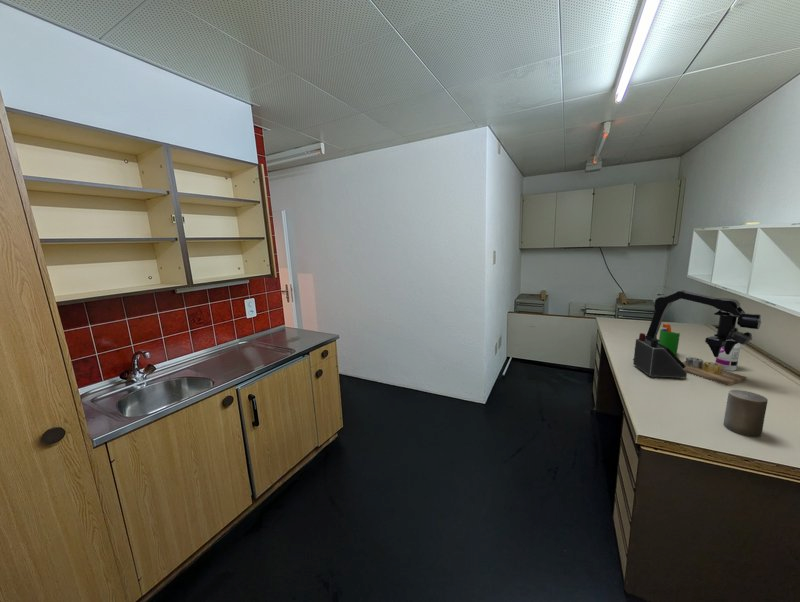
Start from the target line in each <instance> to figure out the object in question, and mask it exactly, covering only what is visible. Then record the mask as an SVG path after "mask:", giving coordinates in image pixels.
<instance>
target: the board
mask: <svg viewBox="0 0 800 602" xmlns="http://www.w3.org/2000/svg"><path fill="white" fill-rule="evenodd" d="M693 360H697V357H693ZM681 362H682V363H683V364H684V365H685V363H686V360H685V361H681ZM710 365H715V362H713V363H710ZM685 366H686V367H685V368H683V369H684V370H685V371H686V372H687V374H689V375H692V374H693V375H692V376H695V375H696V377H698V376H699V378H701V377H703V379H705V380H708V381H711V380H712V381H711V382H714V381H715V383H717V384H720V383H721V384H720V385H724V386H731V385H734V384H737V383H740V382H741V383H742V382H744V381H747V378H748V377H747V376H746V375H741V374H739V373H734V372H732V371H727V370H721V373H720V374H712V373H709V372H705V371H704V370H702V369H703V368H700V369H698V368H692V367H688V366H687V365H685Z"/></svg>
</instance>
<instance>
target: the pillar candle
mask: <svg viewBox="0 0 800 602" xmlns="http://www.w3.org/2000/svg"><path fill="white" fill-rule="evenodd" d="M726 400H727V401H726V405H725V406H726V407H725V411H724V416H723V417H724V419H723V427H724V428H726V429H727V430H730V431H731V432H734V433H736V434H739V435H742V436H746V437H751V438H759V437H762V434H763V430H764V429H763V428H764V423H765V416H766V412H767V408H768V407H767V406H768V398H767V397H765V396H764V395H761V394H758V393H756V392H752V391H748V390H742V389H729V390H728V395H727V399H726Z"/></svg>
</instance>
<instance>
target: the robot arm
mask: <svg viewBox="0 0 800 602" xmlns="http://www.w3.org/2000/svg"><path fill="white" fill-rule="evenodd" d="M679 300H686V301H690V302H693V303H698V304H704V305H707V306H711V307H713V308H715V309H717V310H718V311H716V312H714V313H713V315H715V316H719V317H718V318H719V319H718V324H717V325H715V329H717V331H716V333H715V334H714V335H713V336H708V337H706V338H705V340H704V342H705V343H706V344H707V345H708V347H709V349H710V350H711V352H712V355H713V356H714V357H715V358H716V357H718V355H719V353H720V350H721V348H722V347H724V350H725V353H726V354H727V355H729V354H730V352H731V350H732V349H733V347H734V346H735V345H736V344H738V343H739V344H740V345H747V344H749V342H750V341H752V340H753V336H752V333H751V332H749V331H747V332H739V328H738V327H736V324H737V325H738V326H739V327H740V328H746V329H750V330H751V329H752V330H759V329H760V328H761V325H762V321H761V316H762V315H761V314H758V313H754V314H753V313H746V311H744V309H743V308H742V307H741V303H740V301H739V300H738V299H735V298H729V297H727V298H726V297H725V298H724V297H713V296H708V295H704V294H699V293H694V292H689V291H686V290H684V289H683V290H681V289H680V290H678V291H676V292H674V293H672V294H670V295H663V296H660V297H657V298H656V299H655V300H654V305H653V307H654V313H653V316H652V319H651V321H650V324H649V328H648V330H647V333H646V334H645V339H646V340H648V341H650V342H651V339H656V340H657V343H659V341H660V340H659V339H658V338H657V337H658V333H659V332H660V331H659V330H660V329H661V325H662V322H663V319H664V316H665V314H666V313H667V311H668V310H669V309H670V308H671V306H672V304H673V302H676V301H679ZM632 360H633V361H634V358H633V359H632Z"/></svg>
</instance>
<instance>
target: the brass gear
mask: <svg viewBox="0 0 800 602" xmlns="http://www.w3.org/2000/svg"><path fill="white" fill-rule="evenodd" d="M710 363H715V362H712V361H705V362H703V369H702V370H704V371H705V372H709V373H712V374H720V373H721V370H722V365H719V364H718V363H715V365H710Z"/></svg>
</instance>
